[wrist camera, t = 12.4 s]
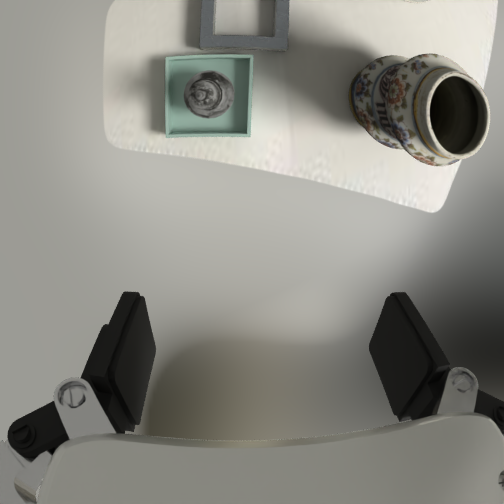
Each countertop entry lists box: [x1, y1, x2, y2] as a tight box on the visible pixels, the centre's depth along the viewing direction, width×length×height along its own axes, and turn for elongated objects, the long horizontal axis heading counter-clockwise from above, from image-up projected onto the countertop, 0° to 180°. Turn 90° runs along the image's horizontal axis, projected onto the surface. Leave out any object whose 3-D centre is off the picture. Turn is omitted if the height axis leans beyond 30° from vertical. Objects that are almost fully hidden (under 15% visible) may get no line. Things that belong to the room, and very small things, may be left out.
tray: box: [165, 54, 254, 138], centre depth 34 cm, size 10×10×3 cm
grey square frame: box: [200, 0, 289, 52], centre depth 29 cm, size 10×10×2 cm
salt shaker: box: [183, 70, 235, 119], centre depth 29 cm, size 6×6×12 cm
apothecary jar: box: [349, 54, 490, 166], centre depth 28 cm, size 12×12×18 cm
